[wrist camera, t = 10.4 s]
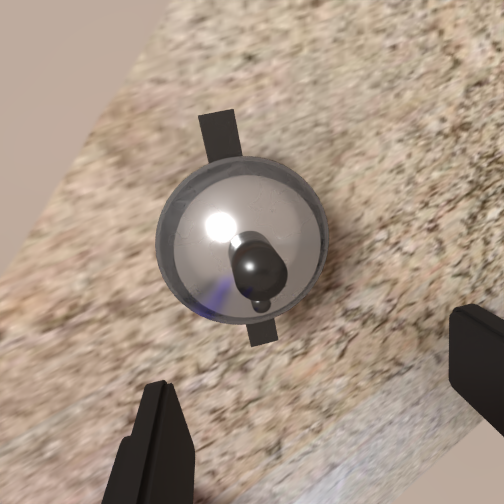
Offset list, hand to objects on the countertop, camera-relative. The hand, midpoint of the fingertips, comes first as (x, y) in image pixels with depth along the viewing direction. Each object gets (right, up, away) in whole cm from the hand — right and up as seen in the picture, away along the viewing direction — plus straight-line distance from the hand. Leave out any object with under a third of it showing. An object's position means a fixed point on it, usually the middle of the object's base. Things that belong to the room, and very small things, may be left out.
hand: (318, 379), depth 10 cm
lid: (-2, +4, +14) cm, 15 cm away
